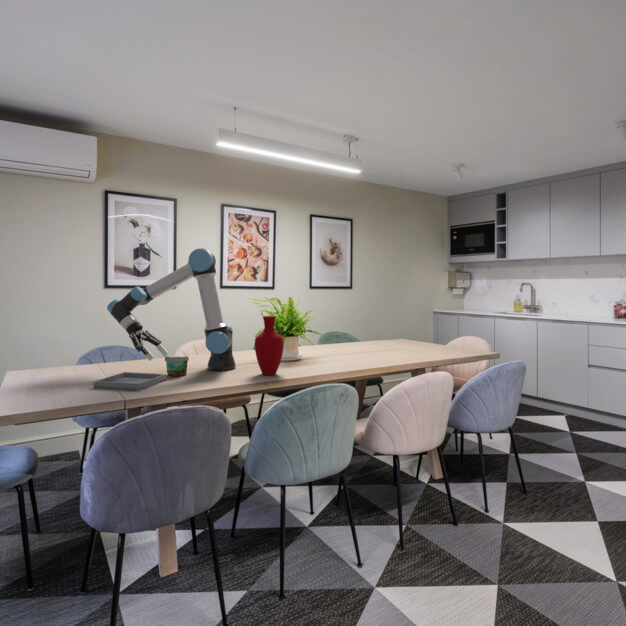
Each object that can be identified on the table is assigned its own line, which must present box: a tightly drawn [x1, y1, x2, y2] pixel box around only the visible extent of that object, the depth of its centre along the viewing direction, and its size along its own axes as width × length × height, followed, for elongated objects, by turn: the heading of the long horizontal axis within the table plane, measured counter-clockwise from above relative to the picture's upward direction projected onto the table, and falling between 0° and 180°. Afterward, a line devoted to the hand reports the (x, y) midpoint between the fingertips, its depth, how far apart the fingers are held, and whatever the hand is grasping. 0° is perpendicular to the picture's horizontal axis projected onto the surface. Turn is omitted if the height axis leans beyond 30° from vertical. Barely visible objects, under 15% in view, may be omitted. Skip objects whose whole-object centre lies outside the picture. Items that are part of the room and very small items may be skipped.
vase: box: [254, 315, 285, 376], centre depth 227 cm, size 15×15×30 cm
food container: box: [164, 354, 190, 378], centre depth 220 cm, size 12×6×10 cm, turn 82°
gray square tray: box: [93, 371, 167, 391], centre depth 201 cm, size 22×22×3 cm
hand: (159, 356), depth 221 cm, fingers open, 13 cm apart
